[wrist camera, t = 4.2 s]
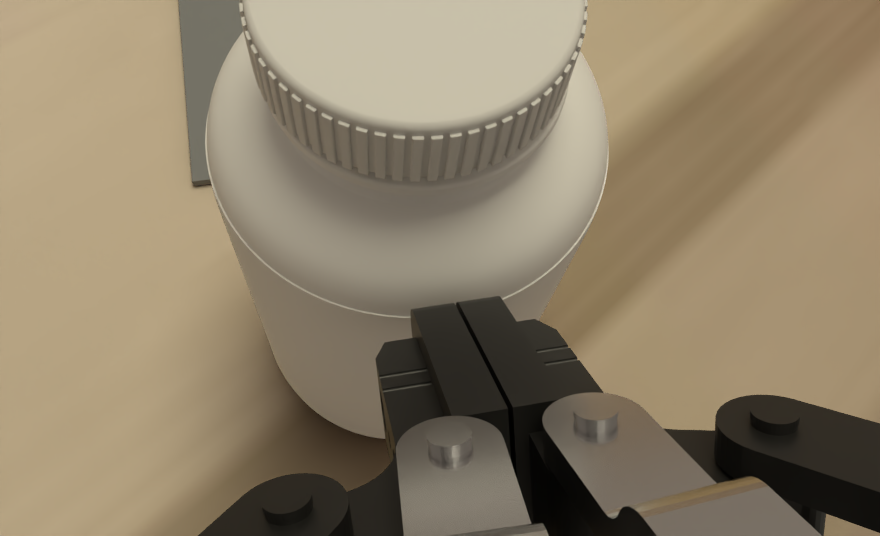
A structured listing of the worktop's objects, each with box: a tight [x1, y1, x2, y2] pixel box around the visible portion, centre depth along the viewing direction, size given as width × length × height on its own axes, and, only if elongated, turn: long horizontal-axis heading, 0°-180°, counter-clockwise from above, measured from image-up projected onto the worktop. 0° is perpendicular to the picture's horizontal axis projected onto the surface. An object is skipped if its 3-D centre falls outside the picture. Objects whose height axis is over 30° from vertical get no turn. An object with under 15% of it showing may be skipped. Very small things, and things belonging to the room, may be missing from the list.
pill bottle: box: [205, 0, 608, 439], centre depth 19 cm, size 8×8×15 cm
